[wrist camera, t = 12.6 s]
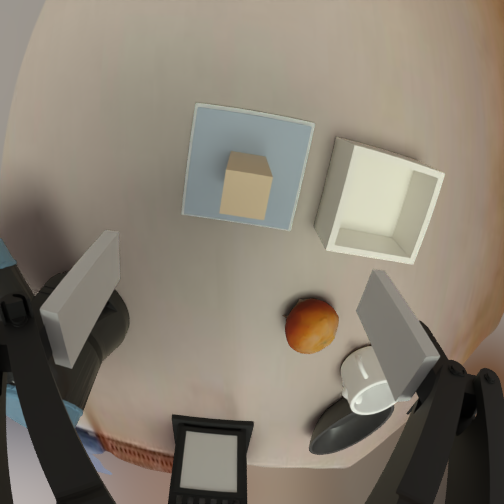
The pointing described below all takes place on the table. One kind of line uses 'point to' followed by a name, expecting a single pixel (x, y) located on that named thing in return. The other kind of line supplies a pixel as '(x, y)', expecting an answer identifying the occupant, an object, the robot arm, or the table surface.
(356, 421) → the bowl
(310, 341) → the fruit
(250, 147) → the lid
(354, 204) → the white open storage bin
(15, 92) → the table surface
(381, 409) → the mug
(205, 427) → the lantern
